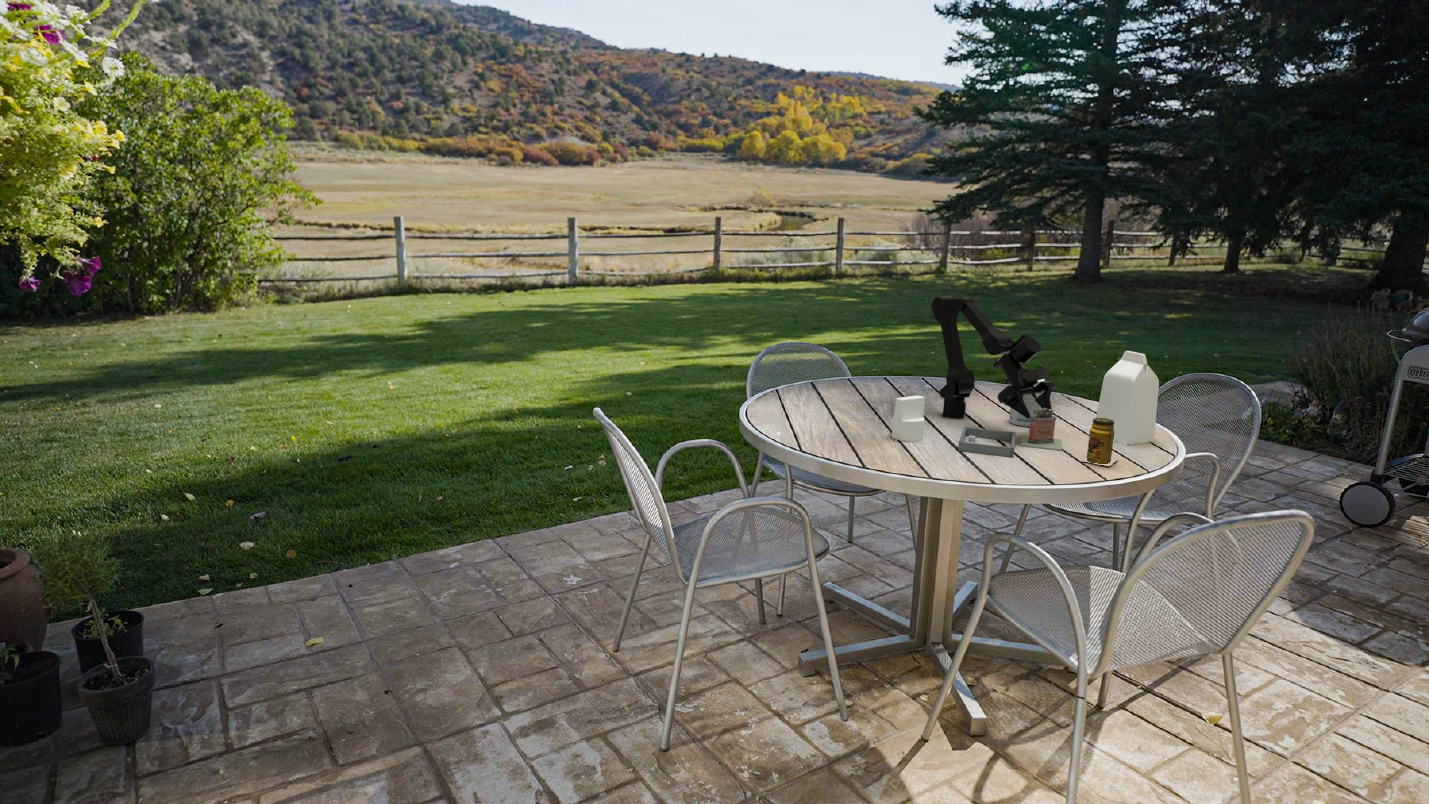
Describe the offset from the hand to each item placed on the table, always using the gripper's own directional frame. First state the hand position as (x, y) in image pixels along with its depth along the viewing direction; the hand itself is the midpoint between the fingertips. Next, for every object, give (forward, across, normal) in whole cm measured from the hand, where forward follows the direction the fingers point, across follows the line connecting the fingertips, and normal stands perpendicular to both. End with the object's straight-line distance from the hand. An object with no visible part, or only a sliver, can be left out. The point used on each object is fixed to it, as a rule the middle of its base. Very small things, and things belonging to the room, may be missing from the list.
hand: (1040, 416), depth 244 cm
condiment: (+20, 0, -9) cm, 22 cm away
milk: (+11, +28, 0) cm, 30 cm away
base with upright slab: (-9, -31, +20) cm, 38 cm away
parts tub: (+3, -16, +8) cm, 18 cm away
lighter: (+6, 0, +4) cm, 8 cm away
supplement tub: (-6, +14, +18) cm, 23 cm away
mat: (+6, 0, +4) cm, 8 cm away
